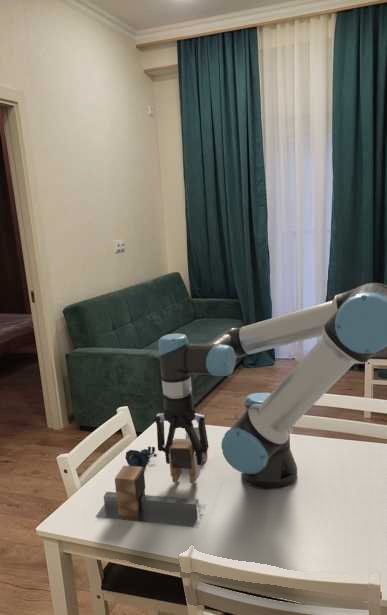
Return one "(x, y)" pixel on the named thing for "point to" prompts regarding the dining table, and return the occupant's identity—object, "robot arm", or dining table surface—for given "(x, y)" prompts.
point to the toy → (139, 457)
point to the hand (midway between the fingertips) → (185, 474)
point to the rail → (157, 510)
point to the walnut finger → (182, 458)
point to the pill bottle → (195, 425)
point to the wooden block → (129, 490)
